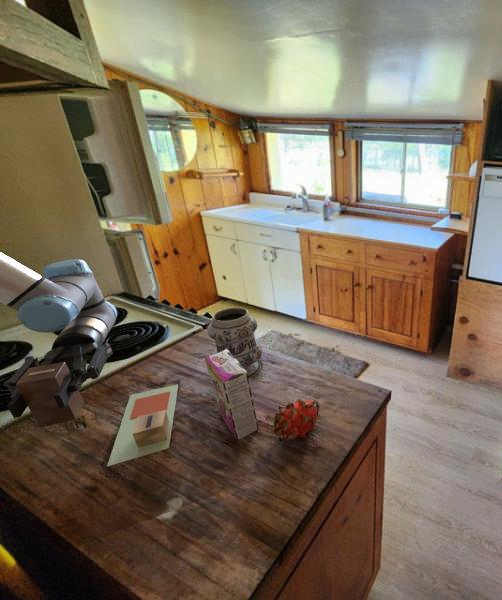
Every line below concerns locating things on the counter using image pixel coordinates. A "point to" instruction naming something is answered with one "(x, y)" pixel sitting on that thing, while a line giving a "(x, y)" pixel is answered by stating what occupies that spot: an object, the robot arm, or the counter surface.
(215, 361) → the candy bar box
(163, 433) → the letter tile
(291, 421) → the dragon fruit
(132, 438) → the word mat
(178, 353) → the counter surface
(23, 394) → the brown rectangular block
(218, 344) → the apothecary jar
